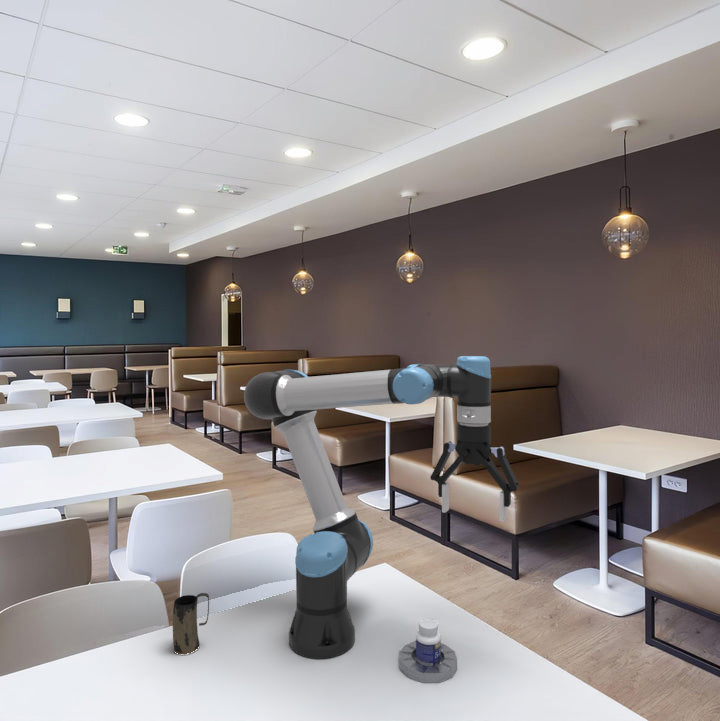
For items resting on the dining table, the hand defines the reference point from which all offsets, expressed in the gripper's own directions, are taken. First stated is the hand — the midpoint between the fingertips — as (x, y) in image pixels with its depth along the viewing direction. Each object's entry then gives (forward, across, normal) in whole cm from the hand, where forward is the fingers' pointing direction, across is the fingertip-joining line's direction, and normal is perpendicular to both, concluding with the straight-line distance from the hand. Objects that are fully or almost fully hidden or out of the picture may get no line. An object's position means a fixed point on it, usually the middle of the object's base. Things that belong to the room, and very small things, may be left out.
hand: (473, 515), depth 126 cm
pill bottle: (+29, -5, -15) cm, 33 cm away
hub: (+29, -5, -15) cm, 33 cm away
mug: (+29, -54, -35) cm, 71 cm away
